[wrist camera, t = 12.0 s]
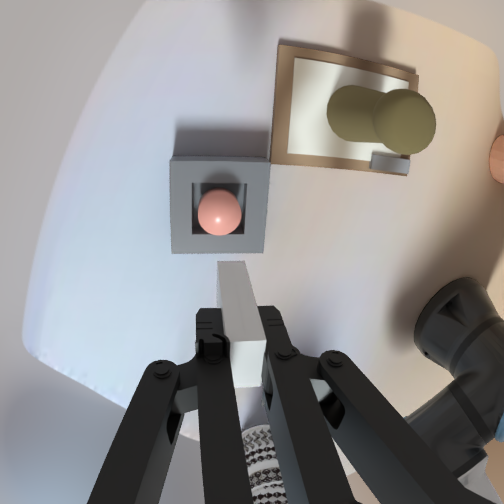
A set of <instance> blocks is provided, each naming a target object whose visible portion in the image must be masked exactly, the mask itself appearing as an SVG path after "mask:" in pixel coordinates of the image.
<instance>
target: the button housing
mask: <svg viewBox="0 0 504 504" xmlns="http://www.w3.org/2000/svg"><path fill="white" fill-rule="evenodd" d="M270 165H271V163H270V162H269V161H268V160H267V159H266V158H265V157H239V156H172V158H171V160H170V223H171V249H172V254H203V253H263V251H264V239H265V227H266V215H267V203H268V190H269V178H270ZM213 188H225V189H228V190H230V191H231V192H232V193H233V194H234V195H235V196H236V198H237V200H238V203H239V206H240V209H241V220H240V223H239V225H238V226H237V228H236V229H235V230H234V231H232V232H231V233H229V234H226V235H220V236H219V235H213V234H210V233H208V232H206V231H205V230H204V229H203V228H202V227H201V225H200V223H199V220H198V204H199V201H200V198H201V197H202V195H203V194H204V193H205V192H206V191H208V190H210V189H213Z"/></svg>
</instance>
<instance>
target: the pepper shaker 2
mask: <svg viewBox="0 0 504 504" xmlns="http://www.w3.org/2000/svg"><path fill="white" fill-rule="evenodd" d="M489 166H490V172H491V174H492V176H493V178H494V179H495V180H496V181H498V182H500V183H502V184H504V135H501V136H499V137H498V138H497V139H496V140H495V141H494V143H493V145H492V148H491V151H490V156H489Z"/></svg>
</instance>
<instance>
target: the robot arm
mask: <svg viewBox="0 0 504 504" xmlns="http://www.w3.org/2000/svg"><path fill="white" fill-rule="evenodd" d="M414 342H415V344H416V346H417V348H418V349H419V350H420V352H421V353H422V354H423V355H424V356H425V357H426V358H428V359H430V360H432V361H433V362H435V363H436V364H438V365H440V366H441V367H443V368H445V369H447V370H448V371H449V372H450V373H451V375H452V376H453V377H454V379H455V380H453V381H452V382H451V383H450V384H449V385H448V386H446V387H445V388H444V389H443V390H442V391H440V392H439V393H438V394H437V395H435V396H434V397H433V398H432V399H430V400H429V401H428V402H426V403H425V404H424V405H422V406H421V407H420V408H418V409H417V410H416V411H414V412H413V413H412V414H410V415H409V416H405V417H404V418H403V417H402V416H401V415H400V414H399V413H398V412H397V411H396V409H395V408H394V407H393V406H392V405H391V404H390V403H389V402H388V401H387V399H386V398H385V397H384V396H383V395H382V394H381V393H380V392H379V390H378V389H377V388H376V387H375V386H374V385H373V384H372V383H371V382H370V380H369V379H368V378H367V377H366V376H365V375H364V374H363V373H362V371H361V370H360V369H359V368H358V367H357V366H356V365H355V364H354V363H353V361H352V360H351V359H350V358H349V357H348V356H347V355H346V354H344V353H342V352H340V351H335V350H330V351H326V352H324V353H322V355H321V356H320V358H317V357H310V356H305V355H303V354H300V352H299V350H298V349H297V348H296V347H294V346H292V344H291V341H290V338H289V335H288V333H287V330H286V327H285V326H284V322H283V320H282V316H281V314H280V311H279V310H277V309H276V308H275V307H274V306H257V304H256V300H255V297H254V293H253V290H252V286H251V282H250V279H249V275H248V271H247V268H246V264H245V261H217V308H200V309H199V311H198V312H197V314H196V342H195V347H196V354H195V356H194V358H193V359H192V360H190V361H189V362H187V363H184V364H181V365H176V364H175V363H173V362H171V361H168V360H158V361H154V362H152V363H151V364H149V365H148V366H147V368H146V369H145V371H144V374H143V376H142V378H141V380H140V382H139V384H138V386H137V389H136V391H135V393H134V395H133V397H132V400H131V402H130V404H129V406H128V408H127V411H126V413H125V415H124V417H123V420H122V422H121V424H120V426H119V429H118V431H117V433H116V436H115V438H114V440H113V442H112V445H111V447H110V449H109V452H108V454H107V457H106V459H105V461H104V463H103V466H102V468H101V471H100V473H99V475H98V478H97V480H96V483H95V485H94V488H93V490H92V492H91V495H90V497H89V500H88V502H87V504H158V503H159V500H160V496H161V493H162V489H163V486H164V482H165V479H166V476H167V472H168V469H169V465H170V462H171V458H172V455H173V452H174V448H175V445H176V441H177V438H178V435H179V431H180V428H181V425H182V421H183V418H184V413H186V412H190V411H193V410H196V409H198V416H199V433H200V449H201V462H202V475H203V486H204V497H205V504H254V501H253V496H252V491H251V485H250V480H249V474H248V468H247V463H246V457H245V451H244V445H243V439H242V433H241V427H240V421H239V415H238V408H237V402H236V395H235V389H234V388H243V387H258V386H261V381H262V382H263V386H264V388H263V395H262V402H261V406H264V403H265V408H266V412H267V417H268V421H269V425H270V430H271V434H272V438H273V443H274V447H275V451H276V455H277V460H278V464H279V468H280V472H281V477H282V481H283V485H284V489H285V493H286V497H287V501H288V504H362V503H360V502H357V501H356V500H355V498H354V496H353V494H352V491H351V488H350V485H349V483H348V480H347V477H346V474H345V472H344V469H343V466H342V464H341V461H340V458H339V455H338V453H337V450H336V447H335V445H334V442H333V439H334V441H335V442H336V443H337V445H338V446H339V448H340V449H341V450H342V452H343V453H344V455H345V456H346V457H347V459H348V460H349V461H350V463H351V464H352V466H353V467H354V468H355V470H356V471H357V472H358V474H359V475H360V477H361V478H362V479H363V481H364V482H365V483H366V485H367V486H368V487H369V489H370V490H371V491H372V493H373V494H374V495H375V497H376V498H377V499H378V501H379V502H380V503H381V504H503V503H502V501H501V499H500V498H499V496H498V494H497V492H496V490H495V489H494V487H493V485H492V483H491V482H490V480H489V478H488V477H487V475H486V473H485V468H486V464H487V460H488V455H487V453H486V452H485V450H484V448H483V447H484V446H485V445H486V444H487V443H488V442H489V441H491V440H492V439H493V438H495V439H496V440H497V441H499V442H504V320H503V319H502V318H501V317H500V316H499V315H498V313H497V311H496V309H495V307H494V305H493V303H492V301H491V299H490V298H489V296H488V294H487V291H486V290H485V288H484V287H483V286H482V285H480V284H479V283H478V282H477V281H476V280H474V279H472V278H461V279H458V280H455V281H453V282H451V283H450V284H448V285H447V286H445V287H444V288H443V289H441V290H440V291H439V292H438V293H437V294H436V295H435V296H434V297H433V298H432V299H431V301H430V302H429V303H428V304H427V306H426V307H425V308H424V310H423V312H422V313H421V315H420V317H419V319H418V321H417V324H416V327H415V331H414ZM331 436H332V437H331ZM481 437H482V438H481ZM332 438H333V439H332Z"/></svg>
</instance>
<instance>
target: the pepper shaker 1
mask: <svg viewBox="0 0 504 504" xmlns="http://www.w3.org/2000/svg"><path fill="white" fill-rule="evenodd" d="M326 115H327V119H328V123H329V125H330V127H331V129H332V131H333V132H334V133H335V134H336V135H337V136H338V137H339V138H341V139H343V140H346V141H349V142H364V143H383V144H384V145H385V146H386V147H387V148H388V149H390V150H392V151H394V152H396V153H398V154H405V155H411V154H416V153H419V152H421V151H422V150H424V149H425V148H426V147H427V146H428V145H429V144H430V142H431V141H432V139H433V137H434V134H435V130H436V119H435V114H434V112H433V109H432V107H431V105H430V104H429V103H428V101H427V100H426V99H425V98H424V97H423V96H422V95H420V94H419V93H417V92H415V91H412V90H409V89H394V90H391V91H389V92H387V93H385V92H381V91H377V90H373V89H369V88H365V87H361V86H356V85H347V86H343V87H341V88H339V89H338V90H336V91H335V92H334V93H333V95H332V96H331V97H330V99H329V102H328V104H327V113H326Z"/></svg>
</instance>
